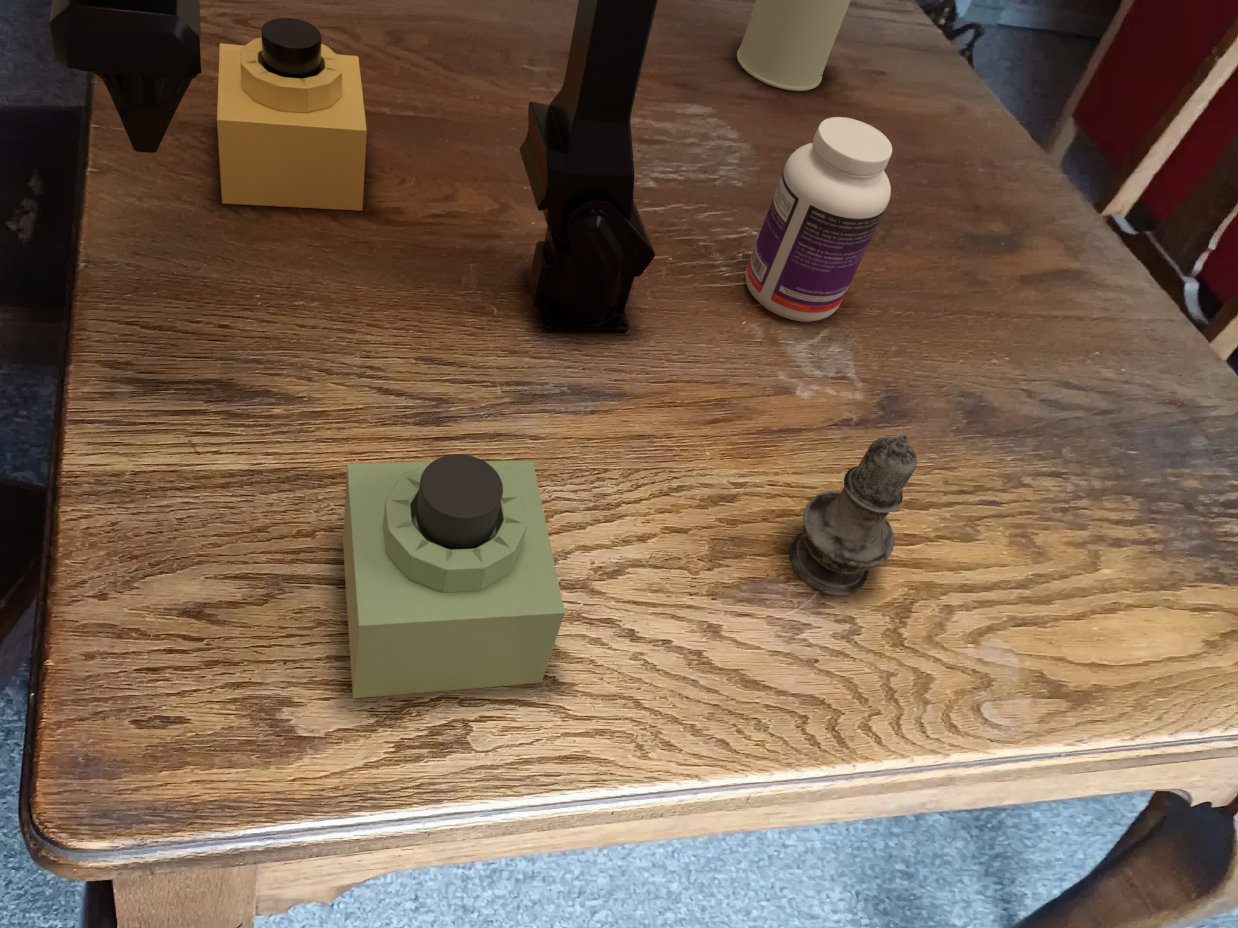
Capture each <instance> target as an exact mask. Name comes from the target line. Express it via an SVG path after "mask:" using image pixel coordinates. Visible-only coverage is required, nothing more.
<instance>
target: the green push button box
mask: <svg viewBox="0 0 1238 928" xmlns="http://www.w3.org/2000/svg"><path fill="white" fill-rule="evenodd" d="M435 460H436V459H432V460H429V461H424V462H423V461H418V462H417V461H415V462H413V461H412V462H374V463H373V462H367V463H366V462H365V463H362V462H361V463H359V462H357V463H347V464H346V474H345V475H346V476H345V493H344V494H345V495H344V512H343V513H344V515H343V516H344V517H343V531H342V532H343V534H342V550H343V552H342V553H343V566H344V581H345V596H346V597H345V599H346V611H347V629H348V644H349V645H348V646H349V661H350V675H351V690H352V691H351V692H352V699H361V698H374V697H375V698H376V697H385V696H398V695H410V694H425V693H435V692H446V691H459V690H473V689H481V688H482V689H484V688H498V687H507V686H508V687H509V686H522V685H532V684H533V685H535V684H542V682H543V679H544V677H545V674H546V671H547V669H548V664H549V662H550V659H551V656H552V653H553V649H554V646H555V644H556V640H557V637H558V636H559V635H558V634H559V632H560V629H561V626H562V624H563V623H562V622H563V620H564V617H565V613H566V611H565V607H564V603H563V602H564V601H563V597H562V591H561V588H560V583H559V579H558V574H557V569H556V565H555V559H554V555H553V550H552V545H551V540H550V536H549V530H548V527H547V522H546V517H545V512H544V508H543V503H542V498H541V493H540V487H539V483H538V479H537V475H536V468H535V464H534V460H531V459H530V460H484V461H485V462H486V463H488V464H489V465H490V466H492V467H493V468H494V469H495V471H496V472H497V473H498V475H499V476H500V479H501V481H502V485H503V494H502V499H501V503H500V508H499V512H498V517H497V521H496V526H495V529H494V531H493V532H492V534H491V535H490V536H489V538H488V539H486V540H485V541H484V542H482V543H481V544H479V545H477V546H474V547H471V548H465V549H453V548H447V547H444V546H441V545H438V544H436V543H434V542H433V541H431V540H430V539H429V538H427V537H426V536H425V535H424V534H423V532H422V531H421V529H420V528H419V526H418V523H417V520H416V509H417V501H418V494H419V486H420V479H421V476H422V473H423V471H424V470H425V469H426V467H427V466H428V465H429V464H430V463H432V462H433V461H435Z"/></svg>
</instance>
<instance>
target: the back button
mask: <svg viewBox="0 0 1238 928" xmlns="http://www.w3.org/2000/svg"><path fill="white" fill-rule="evenodd" d="M260 31H261V37H262V64H263V67H264V68H265V69H266V70H267V71H268V72H271V73H273V74H276V75H279V76H281V77H288V78H299V79H303V78H308V77H312V76H317V75H318V74H319V73H320V70H321V44H322V33H321V31H320V29H318V28H317V27H316V26H315V25H314V24H313V23H310V22H308V21H306V20H302V19H300V18H299V19H298V18H294V17H293V18H292V17H278V18H272V19H270V20H268V21H266V22H265V23H263V25H262V27H261V30H260Z"/></svg>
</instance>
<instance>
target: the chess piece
mask: <svg viewBox="0 0 1238 928" xmlns="http://www.w3.org/2000/svg"><path fill="white" fill-rule="evenodd" d="M917 464H918V459H917V455H916V452H915V450H914V449H913V447H912V446H911V445H910V444H909V439H908V436H907V435H901V436H898V437H894V436H884V437H879V438H877V439H875V440H874V441H873V442H872V443H871V444H870V445H869V447H868V448H867V450H866V451H865V453H864V455H863V457H862V458H861V460H860V462H859V464H858V465H856V466H853V467H851V468H849V469H848V470H847V472H846V473H845V475H844V478H843V488H842V490H827V491H824V492H820V493H817V494H816V495H815V496H813V497H811V498H810V500H809V501H808V502H807V504H806V505H805V507H804V510H803V514H802V517H803V519H802V520H803V525H802V526H803V529H802V530H801V531H799V532H798V533H796V535H795V536H794V537H793V538H792V539H791V542H790V545H789V548H788V553H789V554H788V555H789V557H788V558H789V560H790V564H791V567H792V568H793V570H794V572H795V573H796V574H797V576H798V577H799V578H800V579H801V580H802V581H803V582H804V583H805V584H806V585H808V586H810V587H811V588H812V589H814V590H816V591H818V592H821V593H822V594H824V595H830V596H835V597H841V596H848V595H849V596H850V595H852V594H855V593H856V592H858V591H859V590H861V589H862V588H863V586H864V585H865V584H866V582H867V581H868V576H869V570H871V569H873V568H874V567H876V566H879V565H881V564H882V563H884V562H885V561H887V560H888V559H889V557H890V555H891V554H892V553H893V551H894V546H895V536H894V531H893V527H892V526H891V524H890V521H889V520H888V519H887V516H888V514H889V513H892V512H895V510H898V509H899V508H900V506H901V505H902V503H903V498H904V496H903V490H904V488H905V486H906V485H907V483H908V482H909V480H910V478H911V477H912V475H913V474H914V473H915V471H916V469H917Z"/></svg>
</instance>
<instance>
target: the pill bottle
mask: <svg viewBox="0 0 1238 928" xmlns="http://www.w3.org/2000/svg"><path fill="white" fill-rule="evenodd" d="M819 123H820V124H819V125H818V127H817V129H816V132H815V134H814V136H813V139H812V142H809V143H807V144H804V145H802V146H800V147H798V148H797V149H795V150H794V151H793V152H792V153H791V154H790V155H789V157H788V158H787V160H786V163H785V165H784V166H783V171H782V172H781V176H780V178H779V181H778V183H777V186H776V189H775V192H774V193H773V197H772V199H771V202H770V205H769V206H768V207H769V208H768V210H767V212H766V215H765V218H764V220H763V223H762V226H761V229H760V231H759V233H758V236H757V239H756V242H755V244H754V247H753V249H752V252H751V254H750V257H749V259H748V261H747V266H746V268H745V283H746V287H747V289H748V291H749V293H750V294H751V295H752V297H753V298H754V300H756V301H757V302H758V303H759V304H760V305H761V306H762V307H764V308H765V309H766V310H768V311H769V312H771V313H773V314H775V315H777V316H779V317H781V318H784V319H787V320H791V321H797V322H803V323H808V322H809V323H811V322H817V321H821V320H824V319H826V318H828V317H830V316H831V315H832V314H834V313H835V312H836V311H837V310H838V308H839V307H840V305H841V304H842V302H843V300H844V298H845V296H846V294H847V291H848V289H849V287H850V286H851V283H852V281H853V279H854V277H855V275H856V272H857V270H858V268H859V266H860V264H861V262H862V260H863V258H864V255H865V253H866V251H867V250H868V247H869V245H870V243H871V241H872V238H873V236H874V235H875V232H876V230H877V228H878V226H879V224H880V222H881V219H882V217H883V215H884V213H885V211H886V209H887V207H888V205H889V203H890V201H891V200H890V199H891V194H892V187H891V183H890V179H889V177H888V175H887V173H886V172H885V169H886V168H887V166H888V163H889V161H890V159H891V156H892V154H893V146H892V143H891V142H890V140H889V139H888V137H887V136H886V135H885V134H884V133H882V132H881V131H880V130H879V129H877V128H876V127H874V126H873V125H870V124H868V123H866V122H863V121H861V120H858V119H854V118H851V117H844V116H843V117H842V116H833V117H828V118H826V119H824V120H822V121H821V122H819Z"/></svg>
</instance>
